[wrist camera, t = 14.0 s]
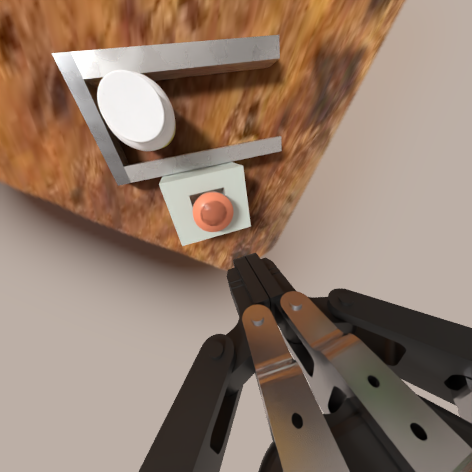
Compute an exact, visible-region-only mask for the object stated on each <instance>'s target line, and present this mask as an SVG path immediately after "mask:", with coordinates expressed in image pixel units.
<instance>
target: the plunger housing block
mask: <svg viewBox="0 0 472 472" xmlns="http://www.w3.org/2000/svg"><path fill="white" fill-rule="evenodd" d="M159 186H160V189H161V191H162V194H163V196H164V199H165V202H166V204H167V207H168V210H169V212H170V215H171V217H172V220H173V223H174V225H175V228H176V231H177V233H178V236H179V238H180V241H181V244H182V246H184V245H188V244H191V243H195V242H198V241H202V240H205V239H209V238H212V237H216V236H219V235H223V234H226V233H230V232H233V231H237V230H240V229H244V228H247V227H251V223H250V216H249V208H248V200H247V192H246V184H245V176H244V169H243V165H239V164H236V163H233V162H227V163H223V164H218V165H213V166H208V167H204V168H199V169H194V170H189V171H185V172H180V173H175V174H170V175H166V176H163V177H162V179H161V181H160V183H159ZM210 191H215V192H219V193H221V194H223V195H225V196H226V197H227V198H228V199H229V201H230V202H231V204H232V206H233V211H234V213H233V218H232V221H231V222H230V224H229V225H228V226H227V227H226V228H224V229H223V230H221V231H218V232H207V231H204V230H202V229H201V228H199V227H198V226H197V224H196V223H195V221H194V217H193V212H192V210H193V205H194V202H195V201H196V199H197V198H198V197H199V196H200V195H202V194H204V193H206V192H210Z"/></svg>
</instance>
